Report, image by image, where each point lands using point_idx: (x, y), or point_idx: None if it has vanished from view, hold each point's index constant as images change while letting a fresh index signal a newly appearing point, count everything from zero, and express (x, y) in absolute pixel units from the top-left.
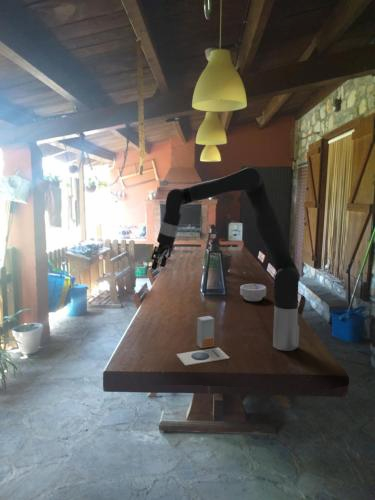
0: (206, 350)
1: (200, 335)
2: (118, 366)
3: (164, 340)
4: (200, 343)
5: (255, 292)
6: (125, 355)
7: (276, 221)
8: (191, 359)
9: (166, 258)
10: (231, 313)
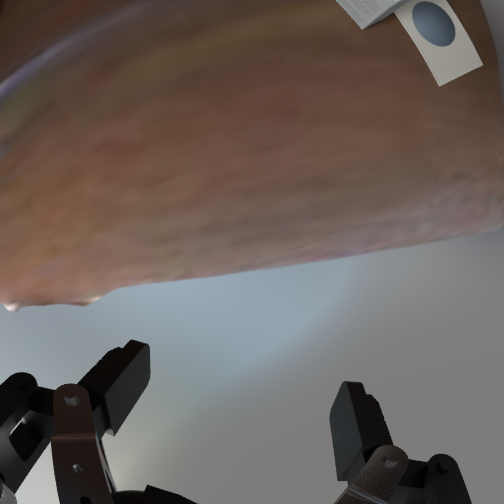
0: None
1: (395, 9)
2: (493, 215)
3: (350, 137)
4: (386, 16)
5: None
6: (452, 218)
7: None
8: (456, 47)
9: (91, 408)
10: (51, 27)
